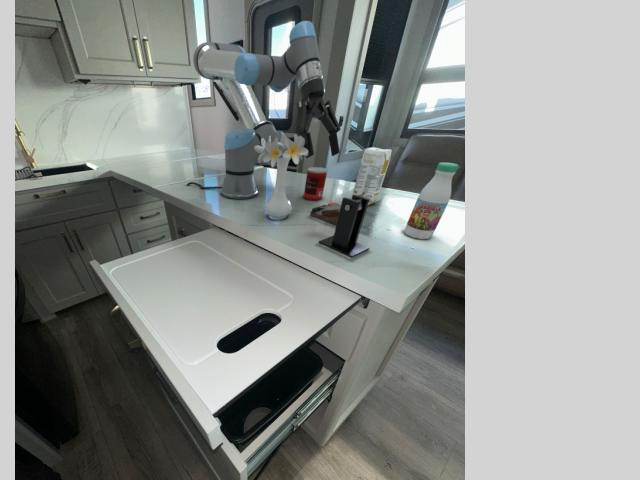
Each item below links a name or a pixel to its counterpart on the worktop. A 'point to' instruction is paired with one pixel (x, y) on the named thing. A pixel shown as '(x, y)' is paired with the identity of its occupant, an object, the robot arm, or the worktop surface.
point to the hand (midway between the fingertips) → (323, 155)
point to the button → (332, 204)
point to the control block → (327, 216)
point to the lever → (332, 207)
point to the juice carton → (372, 173)
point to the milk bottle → (431, 203)
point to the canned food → (315, 183)
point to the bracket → (348, 227)
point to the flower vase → (280, 170)
